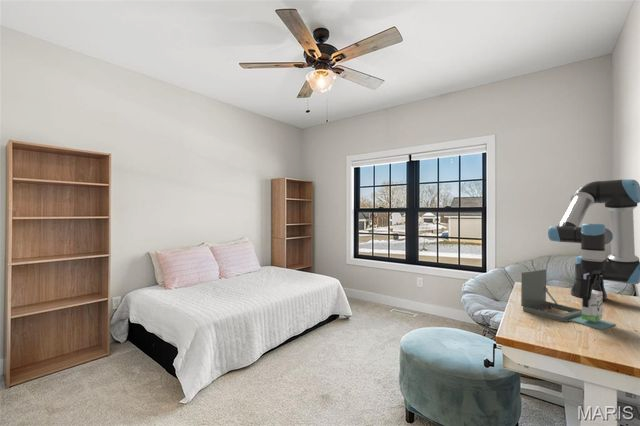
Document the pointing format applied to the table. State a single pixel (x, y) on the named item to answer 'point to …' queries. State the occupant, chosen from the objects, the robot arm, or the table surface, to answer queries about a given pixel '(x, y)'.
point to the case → (542, 297)
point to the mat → (592, 323)
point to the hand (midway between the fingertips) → (591, 312)
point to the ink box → (595, 307)
